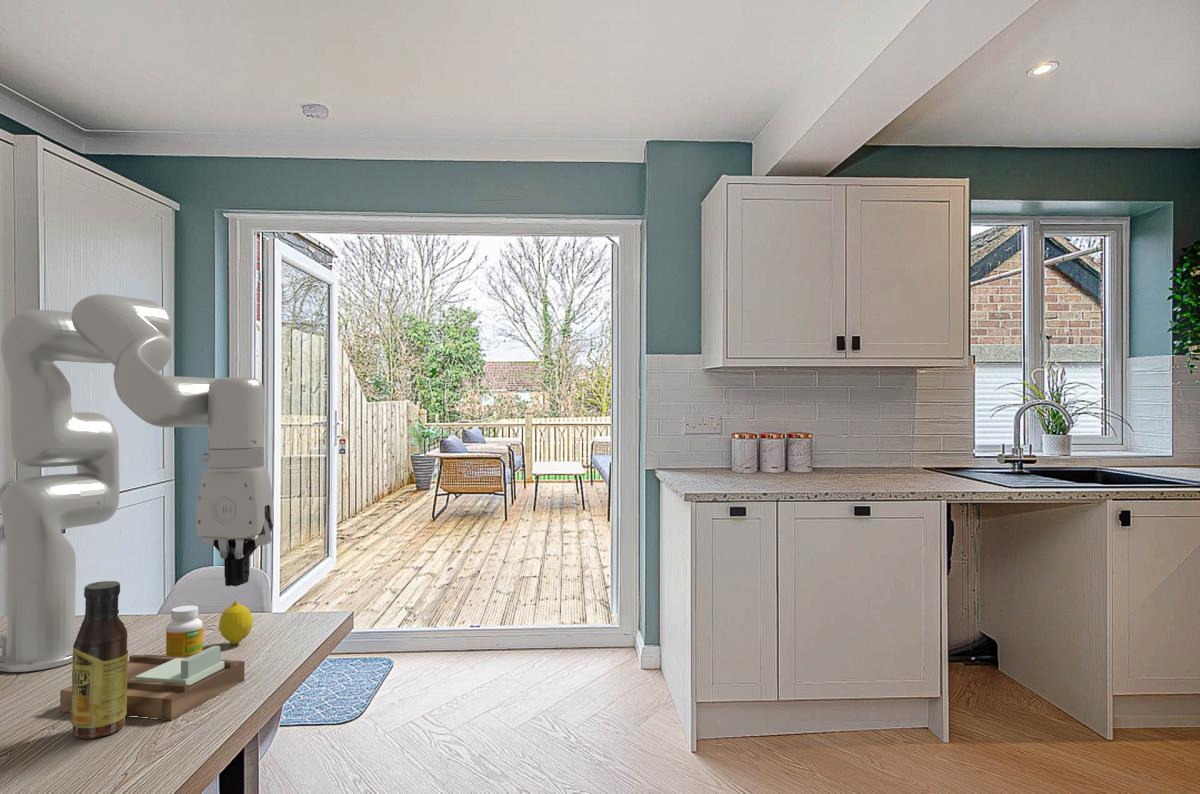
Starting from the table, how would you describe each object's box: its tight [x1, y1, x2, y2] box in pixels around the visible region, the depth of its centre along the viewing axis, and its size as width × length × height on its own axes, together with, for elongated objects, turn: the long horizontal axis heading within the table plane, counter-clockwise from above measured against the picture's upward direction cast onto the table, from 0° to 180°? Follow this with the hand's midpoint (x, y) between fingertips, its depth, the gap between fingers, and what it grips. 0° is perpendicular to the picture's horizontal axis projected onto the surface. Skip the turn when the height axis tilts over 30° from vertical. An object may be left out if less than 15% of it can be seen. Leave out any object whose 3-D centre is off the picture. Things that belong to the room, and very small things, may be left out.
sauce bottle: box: [71, 580, 129, 740], centre depth 103 cm, size 6×6×20 cm
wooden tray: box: [59, 654, 245, 721], centre depth 116 cm, size 18×16×4 cm
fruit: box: [218, 600, 254, 646], centre depth 140 cm, size 6×6×8 cm
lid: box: [135, 645, 224, 685], centre depth 115 cm, size 8×8×4 cm
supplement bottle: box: [165, 605, 204, 657], centre depth 128 cm, size 5×5×10 cm
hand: (237, 583), depth 113 cm, fingers closed
